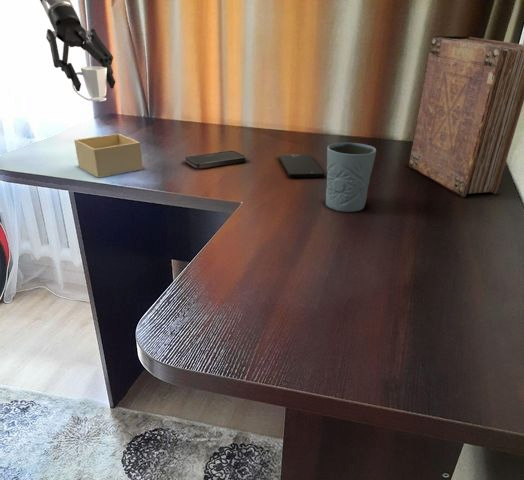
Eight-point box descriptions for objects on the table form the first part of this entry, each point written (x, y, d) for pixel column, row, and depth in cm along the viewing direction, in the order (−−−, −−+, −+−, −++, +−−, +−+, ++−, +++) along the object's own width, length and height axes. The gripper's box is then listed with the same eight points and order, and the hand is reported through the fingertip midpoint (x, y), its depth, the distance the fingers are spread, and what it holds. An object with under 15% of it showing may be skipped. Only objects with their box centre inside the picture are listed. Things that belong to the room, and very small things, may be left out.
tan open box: (98, 177, 122) (93, 149, 119) (78, 166, 129) (73, 139, 126) (143, 169, 129) (140, 142, 125) (122, 159, 136) (118, 133, 132)
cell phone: (309, 157, 141) (309, 153, 140) (324, 177, 126) (324, 173, 126) (278, 157, 140) (278, 154, 139) (289, 178, 125) (289, 174, 125)
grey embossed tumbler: (329, 213, 107) (336, 155, 100) (316, 197, 115) (321, 142, 108) (375, 211, 108) (384, 153, 101) (358, 195, 116) (366, 140, 109)
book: (497, 194, 119) (540, 47, 102) (463, 197, 117) (502, 47, 99) (437, 164, 139) (466, 36, 121) (407, 166, 137) (432, 36, 119)
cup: (113, 101, 143) (109, 69, 139) (77, 103, 140) (71, 70, 135) (108, 97, 149) (104, 65, 144) (73, 98, 145) (67, 66, 140)
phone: (247, 157, 136) (196, 164, 129) (247, 161, 136) (196, 169, 130) (233, 150, 141) (183, 156, 134) (233, 154, 142) (184, 161, 135)
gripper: (96, 24, 150) (128, 92, 149) (20, 25, 138) (55, 99, 137) (101, 4, 143) (135, 74, 143) (22, 3, 131) (59, 79, 131)
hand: (96, 86), depth 140 cm, fingers closed on cup, 9 cm apart
